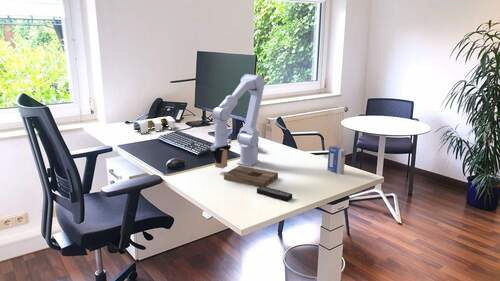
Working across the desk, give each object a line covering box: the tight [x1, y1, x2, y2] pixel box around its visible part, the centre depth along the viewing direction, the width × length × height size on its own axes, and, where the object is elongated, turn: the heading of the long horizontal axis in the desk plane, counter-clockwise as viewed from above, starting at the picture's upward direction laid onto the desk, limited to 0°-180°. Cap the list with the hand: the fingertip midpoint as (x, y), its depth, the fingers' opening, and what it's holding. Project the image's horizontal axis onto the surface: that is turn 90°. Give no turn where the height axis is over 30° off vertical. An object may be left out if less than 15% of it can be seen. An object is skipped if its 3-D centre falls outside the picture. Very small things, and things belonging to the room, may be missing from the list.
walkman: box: [326, 145, 346, 175], centre depth 182 cm, size 8×3×12 cm, turn 37°
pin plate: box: [223, 164, 279, 188], centre depth 173 cm, size 14×20×2 cm
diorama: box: [132, 115, 176, 133], centre depth 255 cm, size 25×10×13 cm, turn 131°
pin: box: [214, 149, 228, 169], centre depth 179 cm, size 4×4×8 cm
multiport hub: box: [256, 186, 293, 203], centre depth 155 cm, size 4×14×2 cm, turn 56°
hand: (221, 161), depth 179 cm, fingers closed on pin, 4 cm apart
